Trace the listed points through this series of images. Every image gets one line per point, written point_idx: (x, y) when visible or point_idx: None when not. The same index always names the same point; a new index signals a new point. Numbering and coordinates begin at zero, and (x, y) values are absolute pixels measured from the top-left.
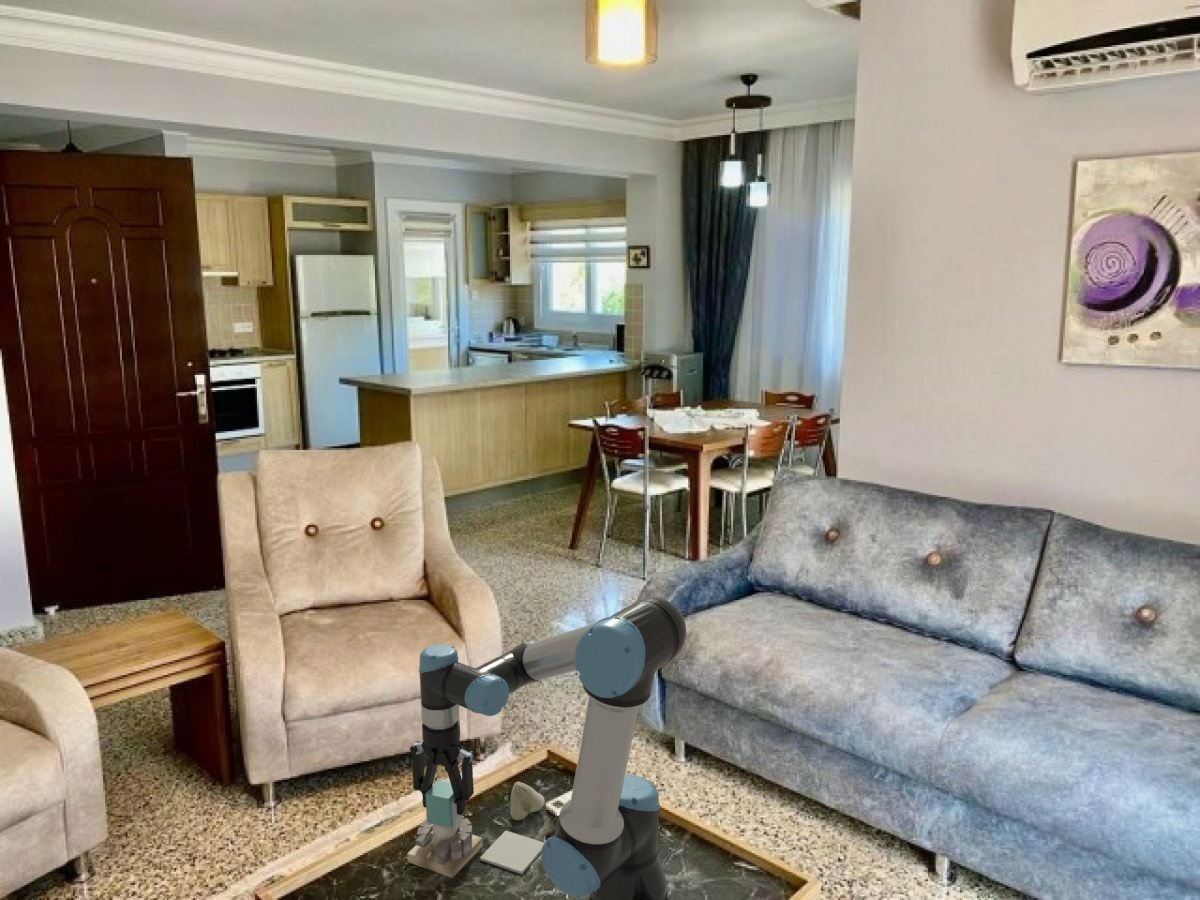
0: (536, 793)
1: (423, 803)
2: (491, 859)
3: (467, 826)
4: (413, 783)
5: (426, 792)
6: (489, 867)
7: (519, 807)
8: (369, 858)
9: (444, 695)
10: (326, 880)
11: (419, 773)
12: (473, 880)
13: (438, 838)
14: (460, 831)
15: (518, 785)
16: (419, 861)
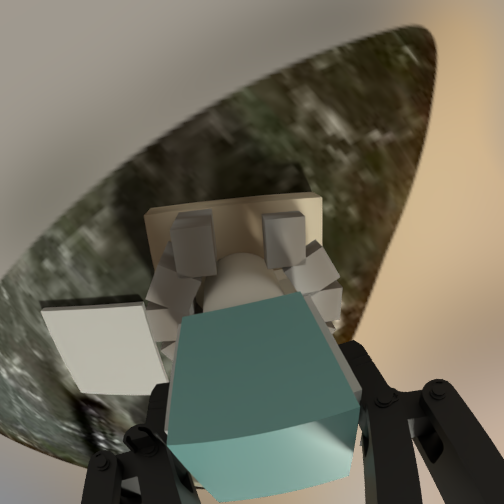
0: None
1: (362, 352)
2: (115, 313)
3: None
4: (462, 403)
5: (367, 409)
6: (106, 292)
7: None
8: (404, 156)
9: None
10: (426, 54)
11: (459, 476)
12: (99, 232)
13: (240, 275)
14: None
15: (197, 482)
16: (272, 198)
